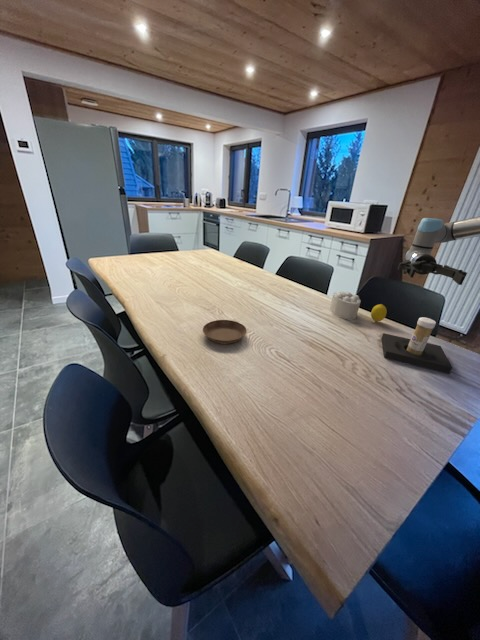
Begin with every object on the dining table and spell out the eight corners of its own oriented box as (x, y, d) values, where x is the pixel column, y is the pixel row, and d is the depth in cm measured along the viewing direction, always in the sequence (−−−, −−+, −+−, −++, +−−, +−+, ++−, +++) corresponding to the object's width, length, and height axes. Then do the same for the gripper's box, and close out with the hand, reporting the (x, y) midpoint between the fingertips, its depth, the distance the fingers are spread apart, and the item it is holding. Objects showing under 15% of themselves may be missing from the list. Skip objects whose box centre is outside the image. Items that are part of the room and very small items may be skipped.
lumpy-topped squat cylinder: (349, 308, 123) (354, 290, 119) (361, 320, 111) (367, 301, 107) (327, 306, 122) (331, 289, 118) (337, 318, 110) (342, 299, 107)
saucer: (199, 345, 83) (199, 338, 82) (206, 324, 97) (206, 318, 96) (245, 349, 84) (246, 341, 82) (246, 327, 97) (246, 321, 96)
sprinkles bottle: (401, 353, 89) (415, 317, 83) (411, 351, 90) (426, 316, 84) (413, 360, 85) (429, 323, 79) (423, 359, 86) (440, 322, 80)
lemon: (383, 321, 112) (389, 303, 108) (382, 325, 107) (388, 307, 104) (369, 317, 114) (375, 300, 111) (367, 322, 110) (373, 304, 106)
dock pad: (437, 351, 91) (440, 345, 90) (449, 374, 79) (452, 367, 78) (381, 338, 97) (383, 332, 96) (384, 358, 85) (386, 351, 84)
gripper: (455, 277, 100) (478, 295, 82) (384, 267, 108) (390, 281, 90) (464, 258, 97) (489, 272, 79) (390, 248, 104) (397, 259, 87)
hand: (437, 277), depth 85 cm, fingers open, 13 cm apart
